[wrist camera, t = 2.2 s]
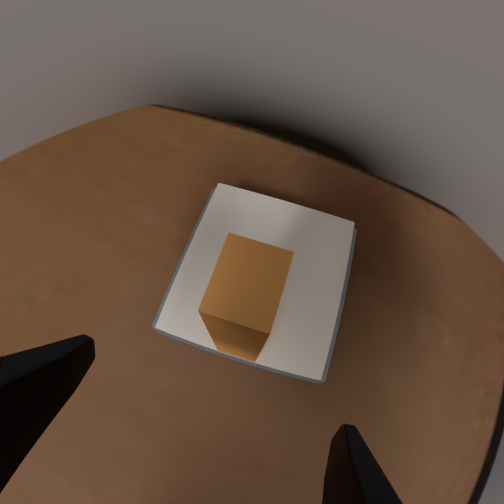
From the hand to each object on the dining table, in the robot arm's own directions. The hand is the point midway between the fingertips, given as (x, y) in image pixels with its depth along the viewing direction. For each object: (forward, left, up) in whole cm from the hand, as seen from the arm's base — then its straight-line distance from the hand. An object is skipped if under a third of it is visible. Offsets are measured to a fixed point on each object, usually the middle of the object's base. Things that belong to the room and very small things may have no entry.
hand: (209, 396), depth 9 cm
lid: (+6, -6, -9) cm, 13 cm away
